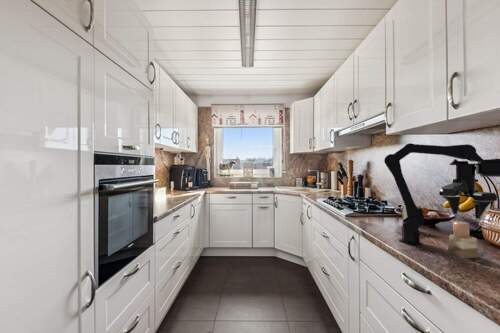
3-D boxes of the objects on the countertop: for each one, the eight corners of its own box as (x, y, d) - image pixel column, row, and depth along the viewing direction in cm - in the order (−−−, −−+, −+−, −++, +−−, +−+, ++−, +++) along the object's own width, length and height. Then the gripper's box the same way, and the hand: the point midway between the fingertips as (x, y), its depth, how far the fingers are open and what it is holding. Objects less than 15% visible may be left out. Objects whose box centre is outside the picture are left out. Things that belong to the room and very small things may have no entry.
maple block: (449, 244, 95) (449, 235, 95) (462, 243, 96) (462, 234, 96) (463, 249, 90) (463, 239, 90) (477, 248, 90) (476, 238, 90)
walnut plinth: (448, 253, 95) (448, 244, 95) (462, 252, 96) (461, 243, 96) (463, 258, 90) (463, 249, 90) (478, 257, 90) (478, 248, 90)
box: (412, 229, 130) (411, 204, 130) (418, 231, 125) (417, 205, 125) (402, 229, 130) (401, 204, 130) (407, 231, 125) (407, 206, 125)
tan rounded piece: (449, 234, 95) (449, 221, 95) (460, 234, 96) (460, 221, 95) (461, 238, 91) (461, 224, 90) (472, 237, 91) (472, 224, 91)
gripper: (427, 176, 107) (427, 212, 107) (469, 178, 89) (470, 222, 89) (451, 175, 108) (451, 211, 108) (498, 177, 90) (498, 221, 90)
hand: (465, 216), depth 99 cm, fingers open, 9 cm apart
